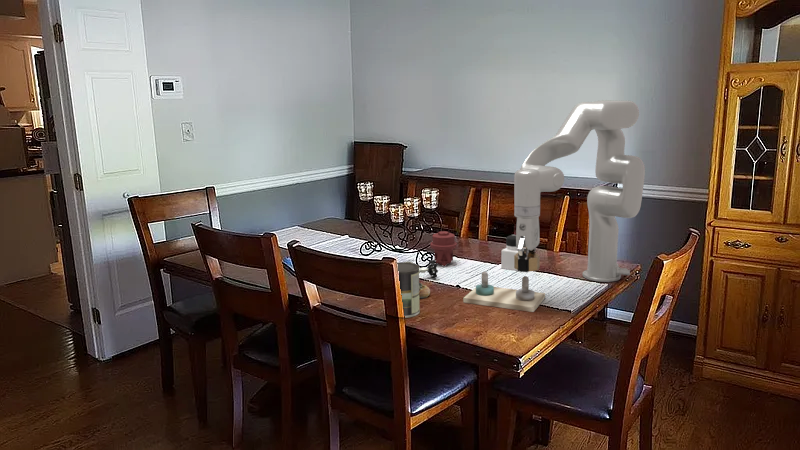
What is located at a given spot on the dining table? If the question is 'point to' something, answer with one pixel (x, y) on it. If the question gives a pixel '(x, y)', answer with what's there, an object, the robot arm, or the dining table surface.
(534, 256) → the ring
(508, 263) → the medicine bottle
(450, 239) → the mechanical component
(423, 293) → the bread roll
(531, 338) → the dining table surface
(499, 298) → the hub board
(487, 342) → the dining table surface
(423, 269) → the valve
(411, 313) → the coffee can
